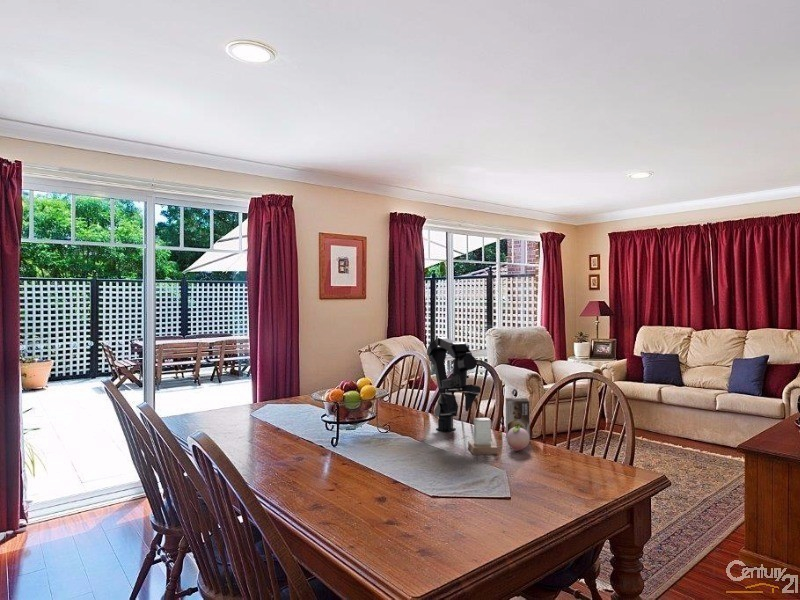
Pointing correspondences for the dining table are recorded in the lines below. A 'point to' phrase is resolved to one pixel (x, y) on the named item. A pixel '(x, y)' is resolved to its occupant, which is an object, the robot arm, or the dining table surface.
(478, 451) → the plinth
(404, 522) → the dining table surface
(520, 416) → the coffee box
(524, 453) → the dining table surface
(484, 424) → the tea tin
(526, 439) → the decorative fruit
